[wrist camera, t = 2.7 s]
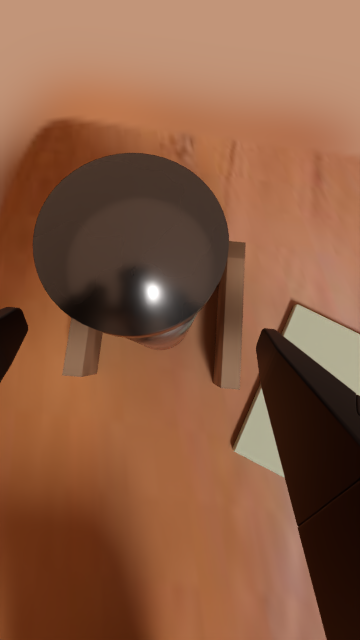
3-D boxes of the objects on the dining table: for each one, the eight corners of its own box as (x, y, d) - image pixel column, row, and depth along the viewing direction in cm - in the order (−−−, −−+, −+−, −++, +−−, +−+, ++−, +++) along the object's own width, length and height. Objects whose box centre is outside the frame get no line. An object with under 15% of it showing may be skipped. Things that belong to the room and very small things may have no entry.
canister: (173, 361, 18) (175, 371, 5) (119, 334, 18) (-7, 278, 5) (200, 308, 19) (259, 201, 6) (148, 282, 19) (95, 125, 6)
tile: (386, 529, 17) (392, 534, 16) (232, 448, 17) (234, 451, 17) (433, 373, 18) (441, 373, 18) (294, 305, 19) (297, 303, 19)
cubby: (228, 384, 18) (239, 389, 15) (80, 372, 18) (62, 375, 15) (234, 260, 19) (245, 242, 17) (98, 248, 19) (85, 228, 16)
